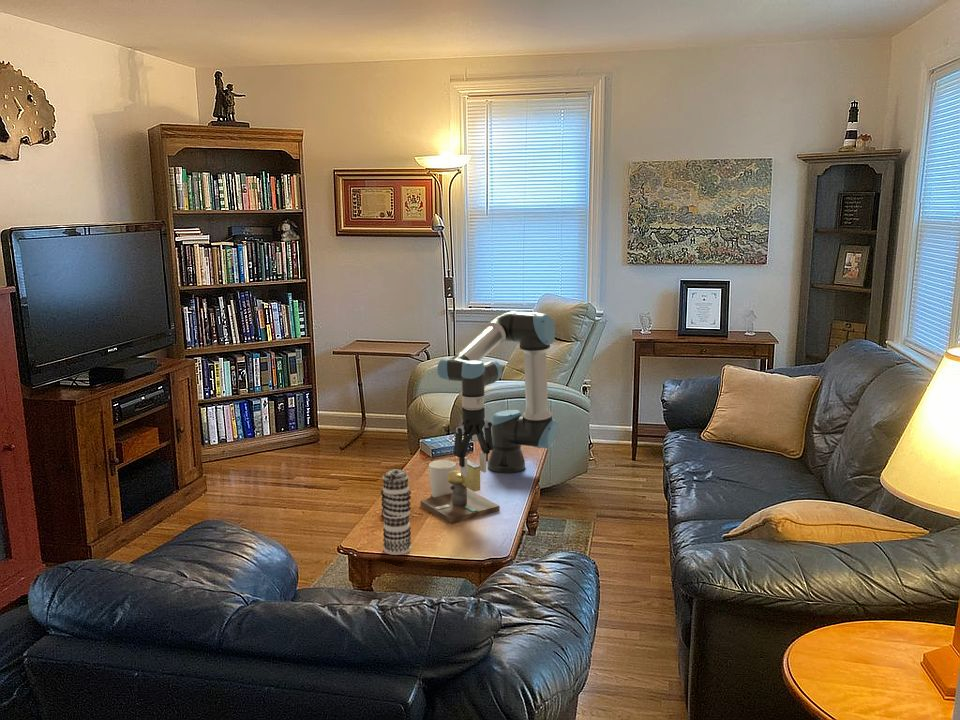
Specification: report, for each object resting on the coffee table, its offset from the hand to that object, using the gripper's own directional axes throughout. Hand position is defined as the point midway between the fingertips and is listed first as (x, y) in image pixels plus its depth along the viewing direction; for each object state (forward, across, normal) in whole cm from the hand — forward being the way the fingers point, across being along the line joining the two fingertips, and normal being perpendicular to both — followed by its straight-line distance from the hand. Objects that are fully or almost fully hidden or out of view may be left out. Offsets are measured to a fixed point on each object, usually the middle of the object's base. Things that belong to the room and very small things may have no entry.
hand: (473, 473), depth 267 cm
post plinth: (+16, 0, +9) cm, 18 cm away
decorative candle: (+16, -34, -8) cm, 38 cm away
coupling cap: (+5, 0, +5) cm, 7 cm away
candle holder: (+16, +2, +24) cm, 28 cm away
